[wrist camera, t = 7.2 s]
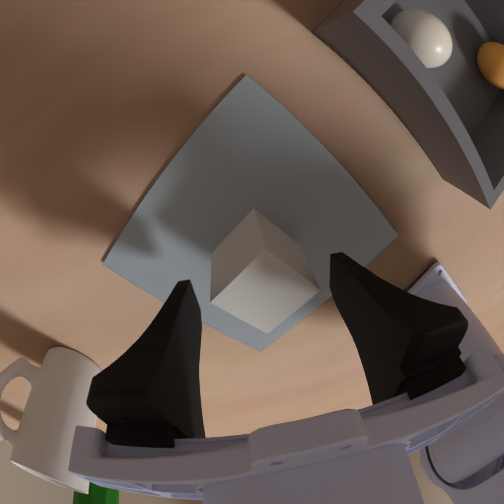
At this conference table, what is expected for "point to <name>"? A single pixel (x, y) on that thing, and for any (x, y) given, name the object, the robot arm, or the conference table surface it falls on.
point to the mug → (51, 414)
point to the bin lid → (249, 220)
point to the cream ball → (424, 36)
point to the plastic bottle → (97, 495)
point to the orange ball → (492, 63)
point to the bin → (433, 84)
